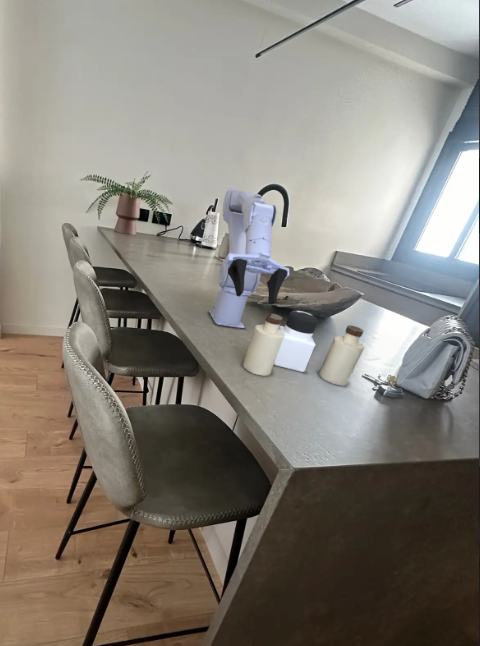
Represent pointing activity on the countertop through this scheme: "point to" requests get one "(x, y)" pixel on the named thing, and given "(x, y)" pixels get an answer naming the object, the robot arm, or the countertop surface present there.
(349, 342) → the cream bottle far
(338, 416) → the countertop surface
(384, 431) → the countertop surface
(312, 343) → the medicine bottle
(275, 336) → the cream bottle near
